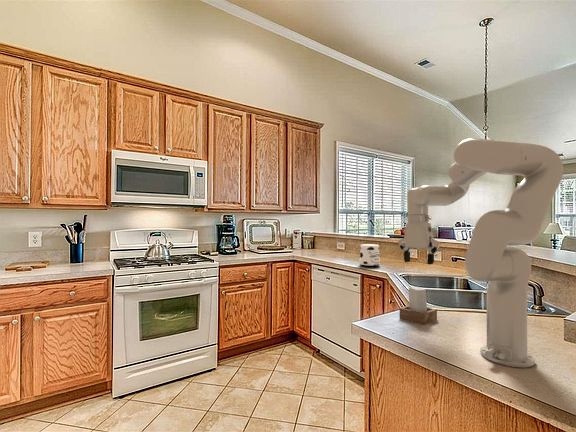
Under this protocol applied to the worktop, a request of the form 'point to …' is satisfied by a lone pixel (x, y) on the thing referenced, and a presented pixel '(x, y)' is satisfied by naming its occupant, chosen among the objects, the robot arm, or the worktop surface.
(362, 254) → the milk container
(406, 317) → the brown wooden tray
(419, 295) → the skincare box
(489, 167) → the robot arm
